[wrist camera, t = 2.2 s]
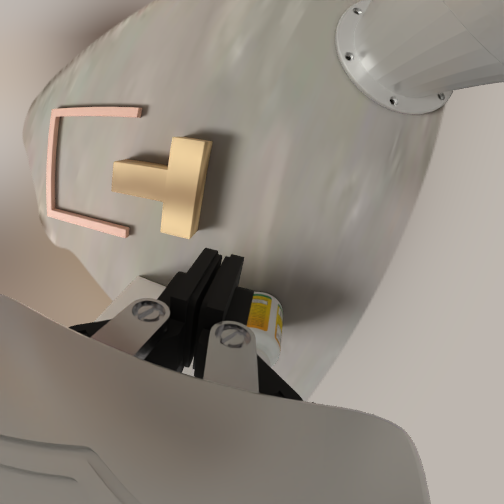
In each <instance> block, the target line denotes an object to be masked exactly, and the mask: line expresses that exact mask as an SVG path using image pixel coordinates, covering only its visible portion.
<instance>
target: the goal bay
mask: <svg viewBox="0 0 504 504" xmlns="http://www.w3.org/2000/svg"><path fill="white" fill-rule="evenodd" d="M141 113H142V108H135V107H78V108H60V109H52V112H51V120H50V128H49V138H48V151H47V175H46V196H47V216H49V217H52V218H56V219H59V220H63V221H66V222H69V223H73V224H76V225H80V226H83V227H87V228H90V229H94V230H98V231H101V232H105V233H108V234H112V235H115V236H119V237H123V238H127V237H128V236H129V227H125V226H122V225H118V224H114V223H110V222H106V221H102V220H98V219H94V218H90V217H87V216H83V215H79V214H75V213H71V212H67V211H64V210H60V209H56V208H55V167H56V149H57V137H58V128H59V120H60V116H121V117H139V118H141Z"/></svg>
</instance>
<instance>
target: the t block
mask: <svg viewBox="0 0 504 504" xmlns="http://www.w3.org/2000/svg"><path fill="white" fill-rule="evenodd" d="M212 142H213V141H207V140H201V139H194V138H187V137H173V138H172V143H171V150H170V156H169V163H168V165H163V164H157V163H151V162H144V161H137V160H130V159H125V160H120V161H115V162H114V165H113V177H112V192H117V193H123V194H128V195H132V196H137V197H142V198H147V199H152V200H157V201H161V202H163V211H162V221H161V232H162V233H166V234H170V235H174V236H178V237H182V238H186V239H190V238H191V237H192V236H193V235H194V234H195V233H196V232H197V231H198V224H199V218H200V211H201V205H202V198H203V192H204V186H205V180H206V175H207V169H208V163H209V158H210V153H211V147H212Z"/></svg>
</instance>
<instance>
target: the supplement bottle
mask: <svg viewBox="0 0 504 504" xmlns="http://www.w3.org/2000/svg"><path fill="white" fill-rule="evenodd" d="M282 323H283V309H282V306H281V304H280V303H279V301H278V300H277V299H276V298H275V297H273V296H272V295H270V294H267V293H263V292H254V295H253V299H252V304H251V308H250V313H249V317H248V322H247V327H249V328H250V329H251V330H252V331H253V333H254V334H255V338H256V351H257V354H258V355H259V356H260V357H261V358H262V359H263V360H264V361H265V362H266V363H267V364H268V365H269V366H270V367H273V366H274V365H275V364H276V362H277V361H278V359H279V356H280V348H281V336H282Z"/></svg>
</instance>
